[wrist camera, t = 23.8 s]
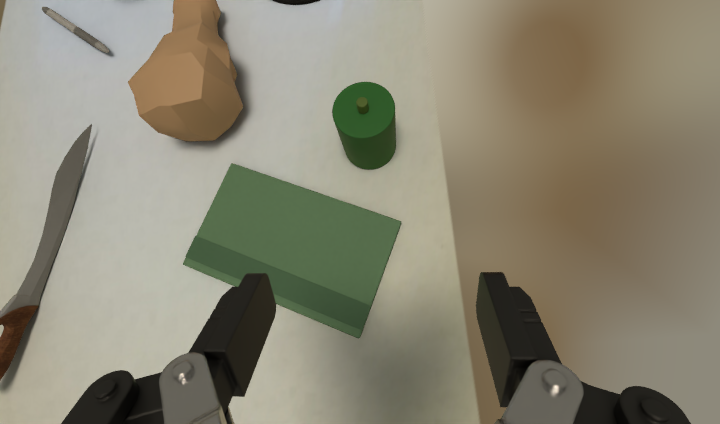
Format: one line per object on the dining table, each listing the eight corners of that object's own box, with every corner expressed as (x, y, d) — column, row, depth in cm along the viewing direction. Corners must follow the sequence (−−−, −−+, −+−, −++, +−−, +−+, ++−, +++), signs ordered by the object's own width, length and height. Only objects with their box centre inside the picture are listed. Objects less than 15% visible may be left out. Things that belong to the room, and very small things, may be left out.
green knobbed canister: (403, 130, 38) (404, 82, 30) (385, 176, 37) (381, 139, 29) (355, 116, 39) (343, 66, 31) (337, 160, 38) (319, 121, 30)
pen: (52, 10, 48) (42, 2, 47) (117, 54, 45) (108, 46, 44) (47, 16, 48) (36, 7, 47) (111, 59, 45) (102, 52, 44)
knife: (-37, 405, 32) (68, 108, 38) (-49, 402, 32) (58, 107, 38) (14, 391, 36) (102, 126, 42) (4, 389, 36) (92, 125, 42)
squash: (174, 167, 40) (99, 124, 32) (182, 43, 48) (123, -17, 40) (256, 139, 38) (196, 85, 30) (250, 13, 46) (202, -57, 38)
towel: (401, 222, 35) (401, 221, 35) (359, 338, 33) (359, 338, 32) (233, 164, 39) (230, 162, 39) (185, 264, 37) (181, 264, 36)
